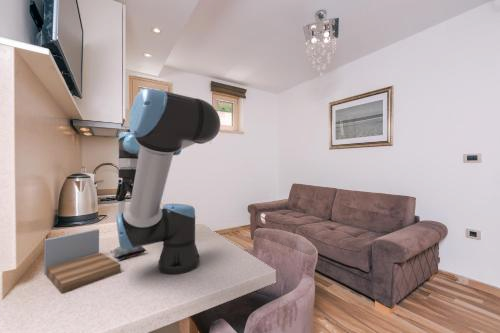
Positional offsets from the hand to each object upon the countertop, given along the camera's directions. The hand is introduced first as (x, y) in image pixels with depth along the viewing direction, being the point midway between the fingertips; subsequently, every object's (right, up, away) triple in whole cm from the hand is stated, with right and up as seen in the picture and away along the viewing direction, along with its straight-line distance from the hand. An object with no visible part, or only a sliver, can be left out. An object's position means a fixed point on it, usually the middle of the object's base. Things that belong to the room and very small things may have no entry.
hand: (128, 218), depth 91 cm
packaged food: (0, -16, -1) cm, 16 cm away
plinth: (-6, -16, -17) cm, 24 cm away
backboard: (-15, -16, -10) cm, 24 cm away
